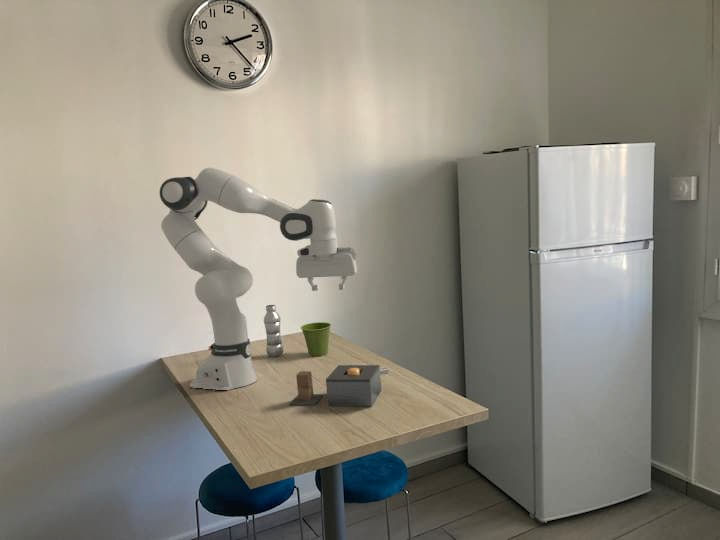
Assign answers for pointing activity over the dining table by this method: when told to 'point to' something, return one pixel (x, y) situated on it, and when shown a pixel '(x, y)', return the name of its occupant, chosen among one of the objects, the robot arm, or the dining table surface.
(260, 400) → the dining table surface
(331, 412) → the dining table surface
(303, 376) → the wood grain block
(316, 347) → the plant pot
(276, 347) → the silver metal bottle
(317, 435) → the dining table surface
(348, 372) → the egg
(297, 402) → the pad
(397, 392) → the dining table surface
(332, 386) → the box
